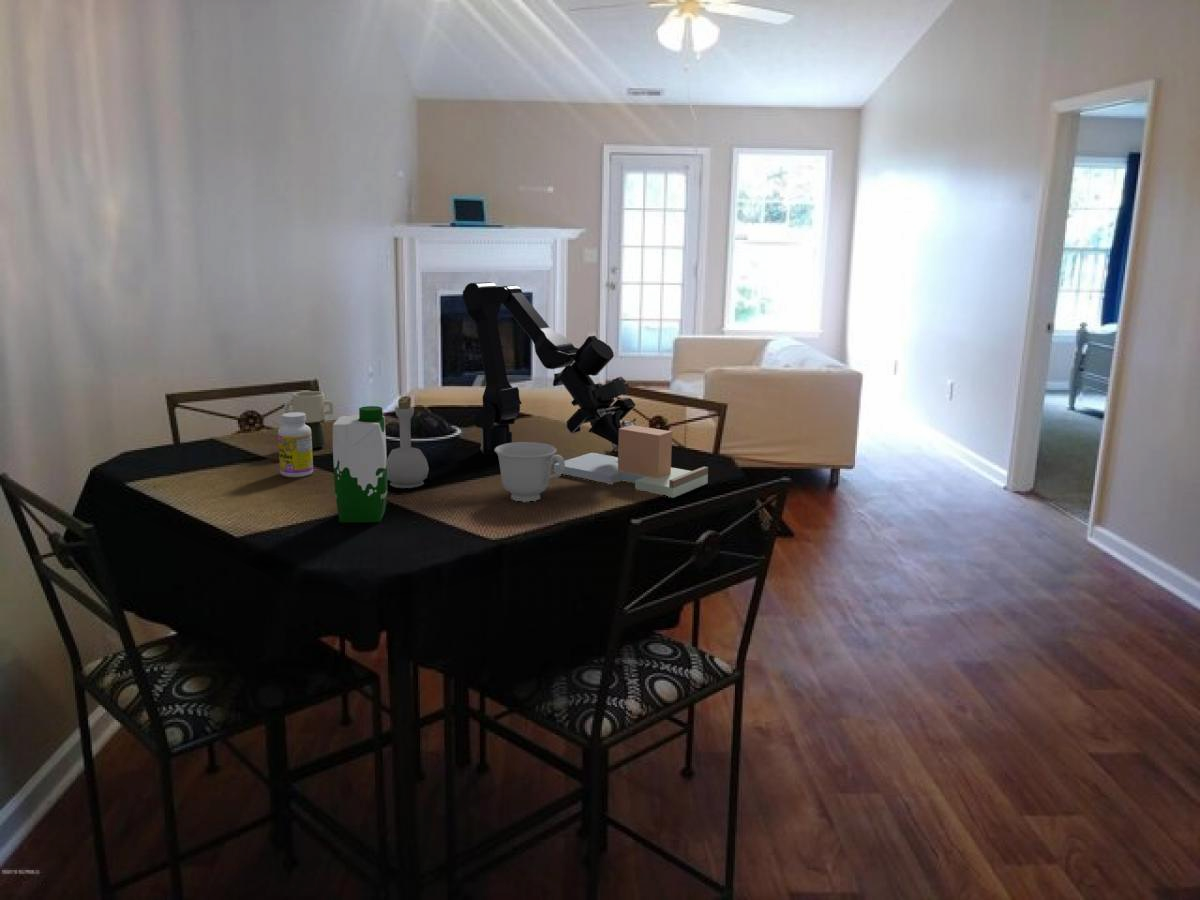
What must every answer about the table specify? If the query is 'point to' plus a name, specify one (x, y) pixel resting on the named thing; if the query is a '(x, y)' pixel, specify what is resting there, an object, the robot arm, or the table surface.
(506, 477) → the teacup
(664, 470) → the block
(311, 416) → the character mug
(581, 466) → the trap board
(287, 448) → the supplement bottle
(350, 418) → the milk carton
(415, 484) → the potion bottle
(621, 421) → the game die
